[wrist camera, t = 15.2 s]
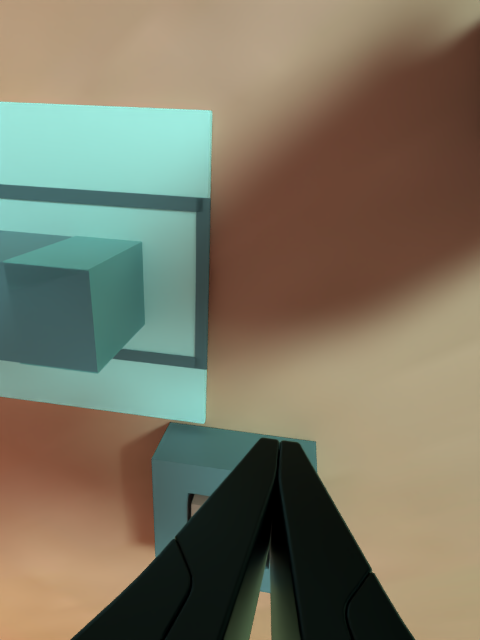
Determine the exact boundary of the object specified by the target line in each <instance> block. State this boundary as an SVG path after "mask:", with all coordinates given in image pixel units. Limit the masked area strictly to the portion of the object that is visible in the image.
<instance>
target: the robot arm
mask: <svg viewBox="0 0 480 640" xmlns="http://www.w3.org/2000/svg"><path fill="white" fill-rule="evenodd" d="M279 445H280V446H279ZM271 525H272V527H271ZM270 535H271V537H270ZM269 543H270V595H271V636H272V640H415V638H414V637H413V636H412V634H411V633H410V631H409V630H408V628H407V627H406V625H405V624H404V622H403V621H402V619H401V617H400V616H399V614H398V612H397V611H396V609H395V607H394V606H393V604H392V603H391V601H390V599H389V598H388V596H387V594H386V593H385V591H384V589H383V587H382V586H381V584H380V582H379V580H378V579H377V577H376V575H375V574H374V573H373V572H372V568H371V567H370V565H369V563H368V561H367V560H366V558H365V556H364V554H363V553H362V551H361V549H360V547H359V546H358V544H357V542H356V540H355V539H354V537H353V535H352V533H351V532H350V530H349V528H348V527H347V525H346V523H345V521H344V520H343V518H342V516H341V514H340V513H339V511H338V509H337V507H336V506H335V504H334V502H333V500H332V499H331V497H330V495H329V493H328V492H327V490H326V488H325V486H324V485H323V483H322V481H321V479H320V478H319V476H318V474H317V472H316V471H315V469H314V467H313V465H312V464H311V462H310V460H309V458H308V457H307V455H306V453H305V451H304V450H303V448H302V446H301V445H300V443H298V442H294V441H286V440H282V441H281V442H279V440H277V439H271V438H264V437H263V438H260V439H259V440H258V441H257V442H256V444H255V445H254V446H253V447H252V448H251V449H250V450H249V452H248V453H247V454H246V455H245V456H244V457H243V459H242V460H241V461H240V462H239V463H238V464H237V465H236V467H235V468H234V469H233V470H232V471H231V472H230V473H229V475H228V476H227V477H226V478H225V479H224V480H223V482H222V483H221V484H220V485H219V486H218V487H217V488H216V490H215V491H214V492H213V493H212V494H211V495H210V497H209V498H208V499H207V500H206V501H205V502H204V503H203V505H202V506H201V507H200V508H199V509H198V510H197V511H196V513H195V514H194V515H193V516H192V517H191V518H190V520H189V521H188V522H187V523H186V524H185V525H184V526H183V528H182V529H181V530H180V531H179V532H178V533H177V535H176V536H175V539H172V540H171V541H170V542H169V543H168V545H167V546H166V547H165V548H164V549H163V550H162V552H161V553H160V554H159V555H158V556H157V557H156V558H155V559H154V560H153V561H152V562H151V564H150V565H149V566H148V567H147V568H146V569H145V570H144V571H143V572H142V573H141V574H140V575H139V576H138V577H137V578H136V579H135V580H134V581H133V582H132V583H131V584H130V585H129V586H128V587H127V588H126V589H125V590H124V591H123V592H122V593H121V594H120V595H119V596H117V597H116V598H115V599H114V600H113V601H112V602H111V603H110V604H109V605H108V606H107V607H106V608H104V609H103V610H102V611H101V612H100V613H99V614H98V615H97V616H96V617H95V618H94V619H92V620H91V621H90V622H89V623H88V624H87V625H86V626H85V627H84V628H83V629H81V630H80V631H79V632H78V633H77V634H76V635H75V636H74V637H73V638H72V639H71V640H249V638H250V634H251V629H252V625H253V620H254V615H255V611H256V606H257V602H258V597H259V593H260V588H261V584H262V579H263V574H264V570H265V565H266V561H267V555H268V550H269Z"/></svg>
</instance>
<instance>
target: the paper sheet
mask: <svg viewBox="0 0 480 640" xmlns="http://www.w3.org/2000/svg"><path fill="white" fill-rule="evenodd" d="M211 144H212V111H210V110H185V109H161V108H137V107H113V106H88V105H64V104H40V103H16V102H0V230H3V231H14V232H26V233H37V234H48V235H60V236H71V237H74V236H83V237H95V238H106V239H118V240H129V241H141V242H142V254H143V282H144V310H145V325H144V326H143V327H142V328H141V329H140V330H139V331H138V332H137V333H136V334H135V335H134V336H133V337H132V338H131V340H130V341H129V342H128V343H127V344H126V345H125V346H124V347H123V348H122V349H121V350H120V351H119V352H118V353H117V354H116V355H115V356H114V357H113V358H112V359H111V360H110V361H109V363H108V364H107V365H106V366H105V367H104V368H103V369H102V370H101V371H100V372H99V373H98V374H96V373H88V372H80V371H73V370H65V369H57V368H49V367H41V366H34V365H26V364H20V363H19V362H11V361H3V360H0V397H7V398H15V399H22V400H30V401H37V402H45V403H52V404H59V405H67V406H74V407H82V408H89V409H97V410H104V411H112V412H119V413H127V414H134V415H142V416H149V417H157V418H164V419H172V420H179V421H187V422H194V423H202V424H204V422H205V420H206V380H207V346H208V299H209V253H210V206H211V198H210V191H211Z"/></svg>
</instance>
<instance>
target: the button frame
mask: <svg viewBox="0 0 480 640" xmlns="http://www.w3.org/2000/svg"><path fill="white" fill-rule="evenodd" d="M263 437H264V438H271V439H277V440H279V442H281V441H282V440H286V441H294V442H298V443H300V445H301V446H302V448H303V450H304V451H305V453H306V455H307V457H308V458H309V460H310V462H311V464H312V465H313V467H314V469H315V471H316V472H317V459H316V442H314V441H306V440H299V439H291V438H284V437H276V436H269V435H262V434H254V433H247V432H239V431H232V430H224V429H217V428H209V427H202V426H195V425H187V424H180V423H172V422H170V424H169V426H168V428H167V430H166V432H165V434H164V436H163V437H162V439H161V441H160V443H159V445H158V447H157V449H156V451H155V453H154V455H153V457H152V482H153V507H154V531H155V556H156V557H157V556H158V555H159V554H160V553H161V552H162V550H163V549H164V548H165V547H166V546H167V545H168V543H169V542H170V541H171V540H172V539H175V536H176V535H177V533H178V532H179V531H180V530H181V529H182V528H183V526H184V525H185V524H186V523H187V522H188V521H189V520H190V518H191V504H192V501H193V498H194V495H195V494H199V495H205V496H210V495H211V494H212V493H213V492H214V491H215V490H216V488H217V487H218V486H219V485H220V484H221V483H222V482H223V480H224V479H225V478H226V477H227V476H228V475H229V473H230V472H231V471H232V470H233V469H234V468H235V467H236V465H237V464H238V463H239V462H240V461H241V460H242V459H243V457H244V456H245V455H246V454H247V453H248V452H249V450H250V449H251V448H252V447H253V446H254V445H255V444H256V442H257V441H258V440H259V439H260V438H263ZM279 446H280V445H279ZM271 527H272V525H271ZM270 537H271V535H270ZM260 591H262V592H267V593H270V543H269V550H268V555H267V561H266V565H265V570H264V574H263V579H262V584H261V588H260Z"/></svg>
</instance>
